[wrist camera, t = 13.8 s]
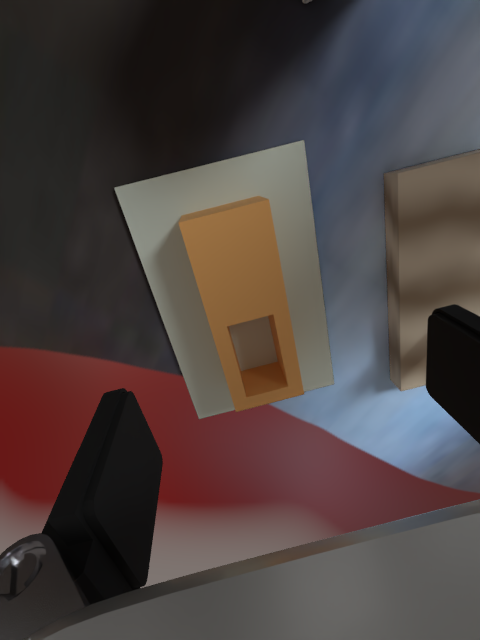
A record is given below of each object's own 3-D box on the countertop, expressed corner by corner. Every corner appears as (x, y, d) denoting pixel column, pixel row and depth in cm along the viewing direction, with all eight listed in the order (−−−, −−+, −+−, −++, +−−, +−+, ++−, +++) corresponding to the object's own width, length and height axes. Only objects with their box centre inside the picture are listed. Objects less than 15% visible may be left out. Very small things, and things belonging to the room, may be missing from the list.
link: (292, 368, 31) (304, 394, 28) (231, 384, 31) (235, 411, 28) (258, 195, 24) (268, 199, 21) (181, 215, 24) (178, 222, 21)
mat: (115, 187, 23) (114, 187, 23) (302, 140, 24) (303, 139, 23) (198, 416, 33) (198, 419, 32) (332, 381, 33) (334, 384, 33)
